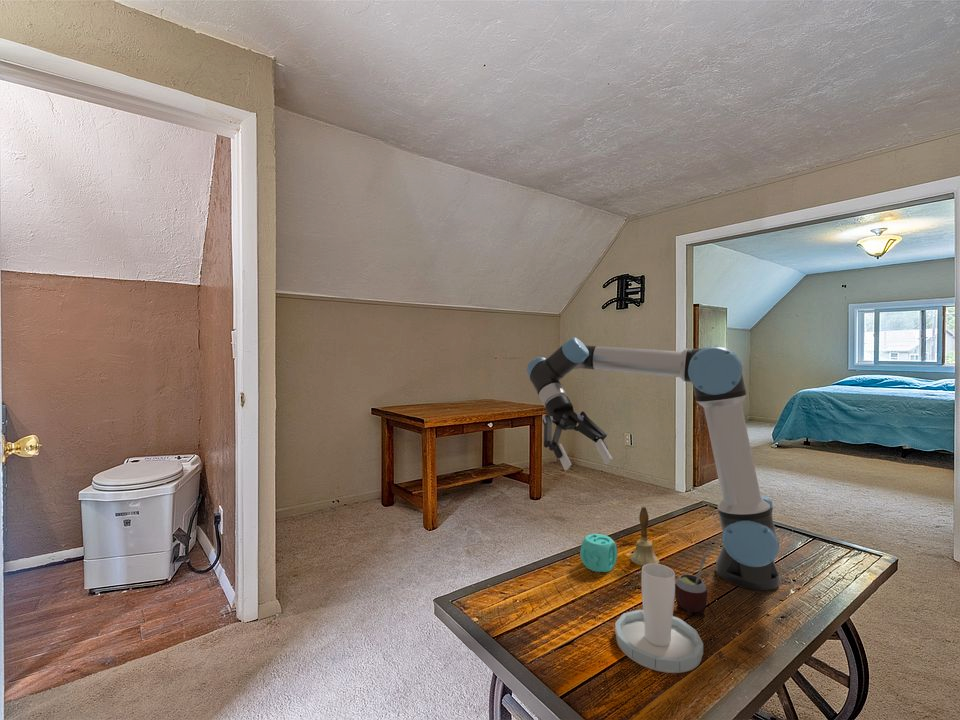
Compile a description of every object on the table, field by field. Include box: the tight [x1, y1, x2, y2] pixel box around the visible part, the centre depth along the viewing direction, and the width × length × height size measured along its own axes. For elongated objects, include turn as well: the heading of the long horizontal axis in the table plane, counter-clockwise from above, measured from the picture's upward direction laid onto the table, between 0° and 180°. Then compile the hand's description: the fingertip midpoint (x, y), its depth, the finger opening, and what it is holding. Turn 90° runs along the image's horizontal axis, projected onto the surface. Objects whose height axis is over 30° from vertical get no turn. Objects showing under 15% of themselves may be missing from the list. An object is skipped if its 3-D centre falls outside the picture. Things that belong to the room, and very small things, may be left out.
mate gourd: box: [675, 547, 713, 620], centre depth 109 cm, size 8×8×15 cm
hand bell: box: [629, 506, 660, 567], centre depth 135 cm, size 8×8×16 cm
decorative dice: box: [579, 533, 618, 573], centre depth 131 cm, size 8×8×8 cm
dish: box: [614, 609, 704, 674], centre depth 97 cm, size 17×17×2 cm
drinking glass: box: [640, 563, 676, 646], centre depth 97 cm, size 7×7×15 cm
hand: (589, 464), depth 120 cm, fingers open, 13 cm apart
